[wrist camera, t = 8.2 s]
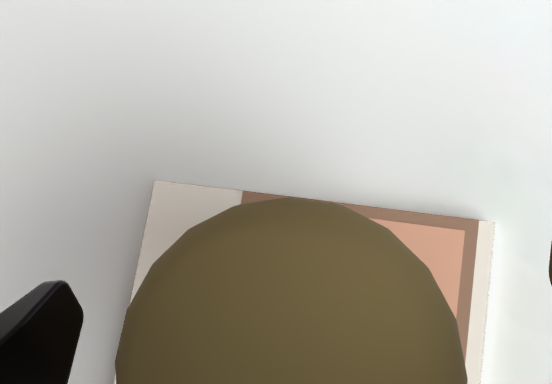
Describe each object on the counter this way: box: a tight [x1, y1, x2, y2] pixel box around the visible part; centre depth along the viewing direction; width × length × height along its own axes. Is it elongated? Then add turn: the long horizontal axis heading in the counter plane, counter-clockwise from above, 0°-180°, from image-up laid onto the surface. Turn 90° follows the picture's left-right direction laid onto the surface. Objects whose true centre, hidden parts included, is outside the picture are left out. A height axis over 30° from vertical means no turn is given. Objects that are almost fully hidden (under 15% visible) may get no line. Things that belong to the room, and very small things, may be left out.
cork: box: [115, 196, 468, 384], centre depth 12 cm, size 6×6×11 cm
